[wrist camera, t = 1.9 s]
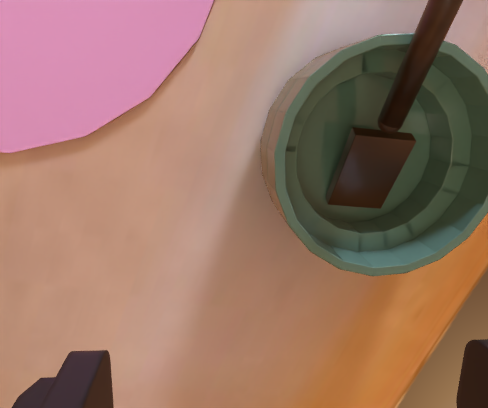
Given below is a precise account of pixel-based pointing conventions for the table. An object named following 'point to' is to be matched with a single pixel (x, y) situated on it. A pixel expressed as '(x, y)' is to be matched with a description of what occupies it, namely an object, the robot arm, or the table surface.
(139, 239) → the table surface
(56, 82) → the platter
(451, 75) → the bowl
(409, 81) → the spatula
